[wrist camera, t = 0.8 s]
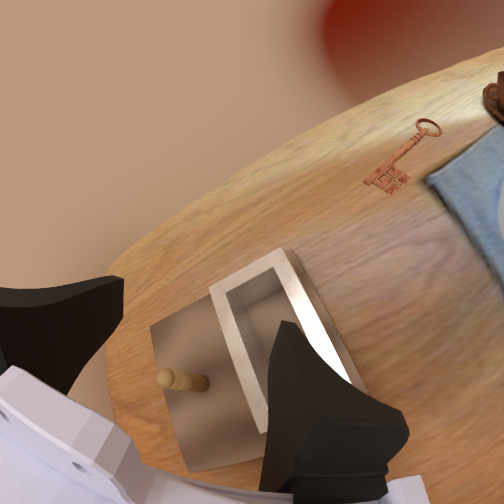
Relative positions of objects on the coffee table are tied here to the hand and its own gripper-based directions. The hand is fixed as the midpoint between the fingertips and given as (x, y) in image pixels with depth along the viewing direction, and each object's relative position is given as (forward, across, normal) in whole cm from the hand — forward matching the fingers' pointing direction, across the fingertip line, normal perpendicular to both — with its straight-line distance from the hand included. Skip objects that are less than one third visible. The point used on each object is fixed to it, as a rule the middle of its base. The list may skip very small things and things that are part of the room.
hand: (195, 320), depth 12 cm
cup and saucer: (+20, -35, -28) cm, 49 cm away
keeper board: (+9, -4, +10) cm, 14 cm away
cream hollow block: (+9, -6, +6) cm, 12 cm away
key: (+20, -17, -13) cm, 30 cm away
